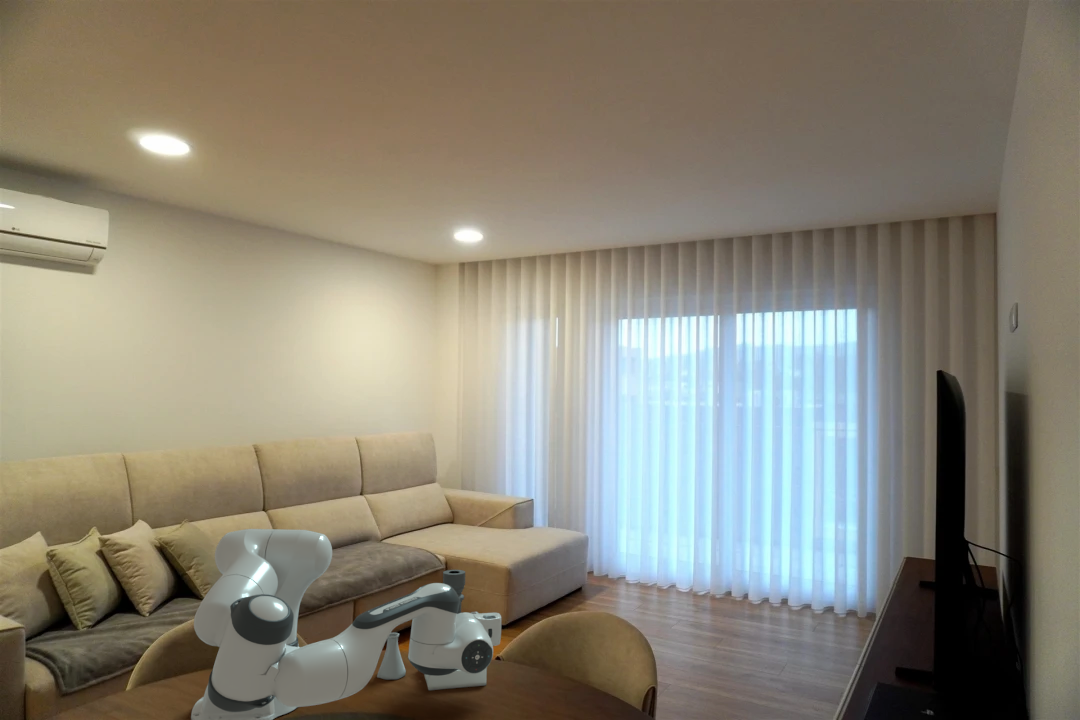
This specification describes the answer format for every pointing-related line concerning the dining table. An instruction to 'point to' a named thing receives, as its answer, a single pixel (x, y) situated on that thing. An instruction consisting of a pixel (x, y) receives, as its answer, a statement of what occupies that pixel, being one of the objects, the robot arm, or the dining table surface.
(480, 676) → the box
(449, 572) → the candle holder
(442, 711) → the dining table surface
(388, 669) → the flask
